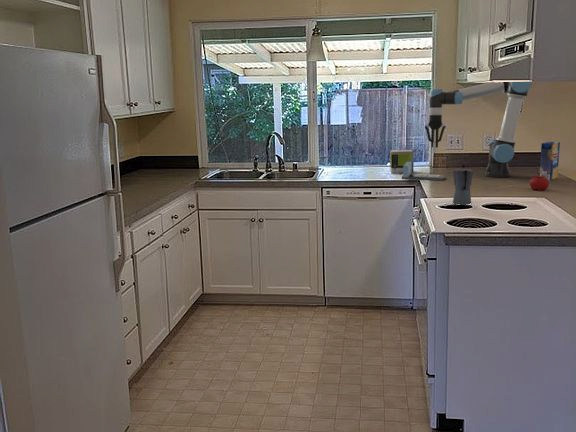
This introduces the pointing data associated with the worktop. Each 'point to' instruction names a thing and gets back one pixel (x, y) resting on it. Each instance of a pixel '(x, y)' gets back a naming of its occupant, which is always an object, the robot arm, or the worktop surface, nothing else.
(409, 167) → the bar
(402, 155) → the tea box
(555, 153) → the beverage box
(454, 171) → the moka pot
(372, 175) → the worktop surface
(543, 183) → the pomegranate
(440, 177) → the plate
